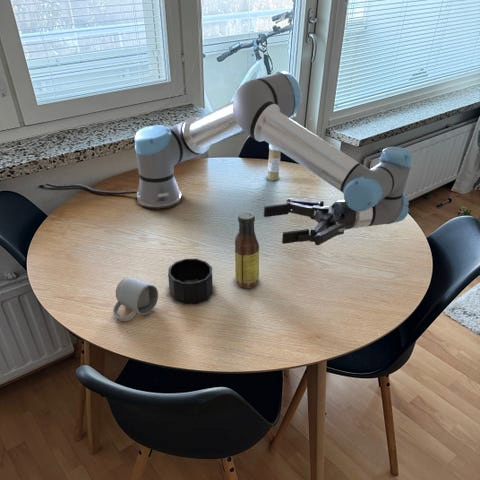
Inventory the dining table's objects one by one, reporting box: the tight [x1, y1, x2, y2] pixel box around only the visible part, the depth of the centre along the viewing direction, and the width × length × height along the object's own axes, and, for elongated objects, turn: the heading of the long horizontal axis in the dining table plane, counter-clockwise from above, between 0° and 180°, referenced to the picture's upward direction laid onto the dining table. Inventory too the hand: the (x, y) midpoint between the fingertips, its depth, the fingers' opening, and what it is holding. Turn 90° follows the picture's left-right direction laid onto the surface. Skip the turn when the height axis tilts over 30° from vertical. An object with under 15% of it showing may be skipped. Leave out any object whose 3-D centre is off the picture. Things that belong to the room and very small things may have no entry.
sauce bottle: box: [234, 211, 260, 289], centre depth 111 cm, size 7×6×20 cm
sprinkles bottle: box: [266, 143, 282, 181], centre depth 165 cm, size 5×5×14 cm
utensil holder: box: [167, 258, 214, 305], centre depth 112 cm, size 11×11×6 cm
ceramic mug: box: [112, 277, 159, 322], centre depth 106 cm, size 11×8×8 cm
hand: (273, 224), depth 109 cm, fingers open, 13 cm apart
